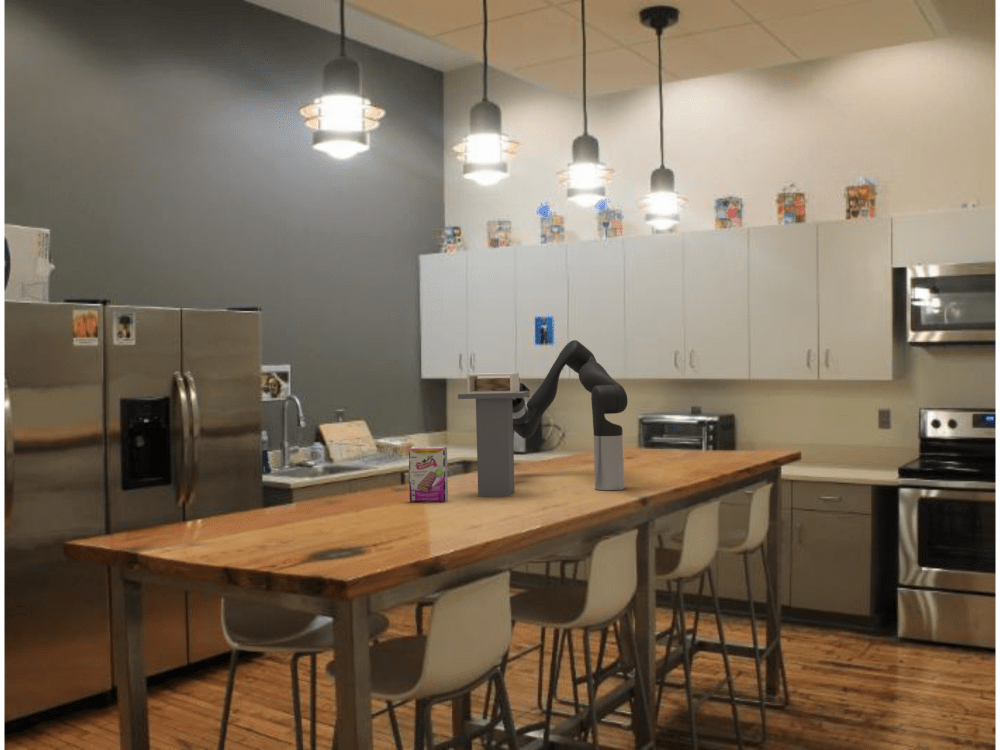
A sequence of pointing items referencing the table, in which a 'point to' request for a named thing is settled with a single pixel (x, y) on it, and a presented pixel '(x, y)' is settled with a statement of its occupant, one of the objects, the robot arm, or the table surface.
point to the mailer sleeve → (513, 388)
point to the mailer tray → (493, 384)
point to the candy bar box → (428, 474)
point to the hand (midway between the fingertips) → (505, 380)
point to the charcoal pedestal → (495, 442)
